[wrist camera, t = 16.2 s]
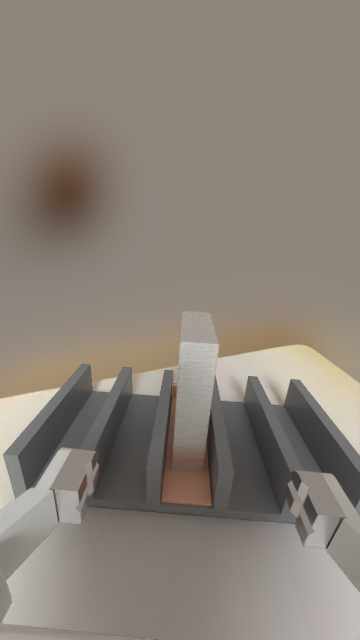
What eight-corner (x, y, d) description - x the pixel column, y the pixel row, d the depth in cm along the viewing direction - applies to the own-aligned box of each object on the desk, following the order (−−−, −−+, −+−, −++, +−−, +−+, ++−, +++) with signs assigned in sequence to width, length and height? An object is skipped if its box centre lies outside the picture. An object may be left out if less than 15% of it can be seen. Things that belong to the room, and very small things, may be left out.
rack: (15, 500, 20) (2, 454, 18) (86, 393, 34) (83, 361, 32) (359, 529, 19) (383, 484, 17) (288, 408, 33) (297, 377, 31)
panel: (171, 470, 22) (180, 341, 17) (175, 411, 29) (182, 310, 25) (202, 472, 22) (219, 344, 17) (198, 413, 29) (209, 312, 25)
